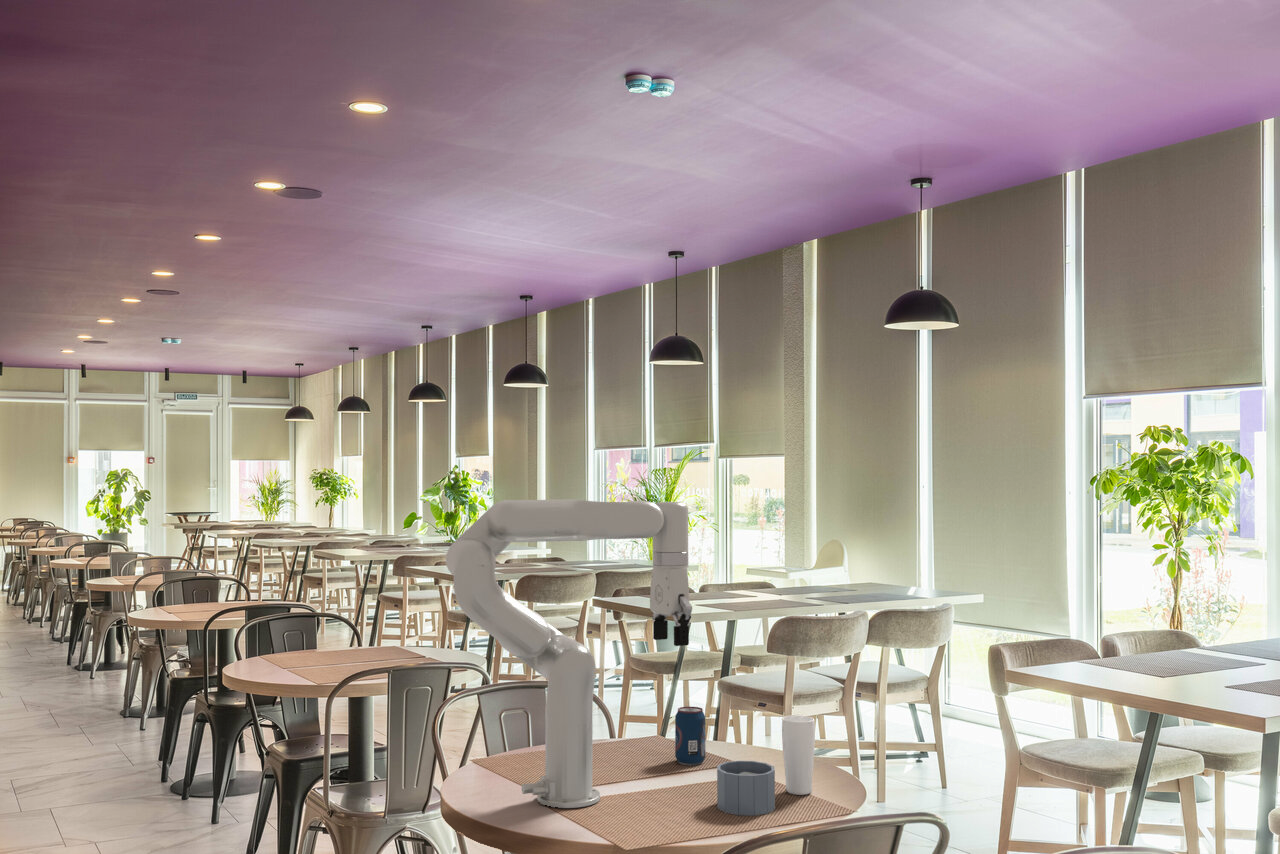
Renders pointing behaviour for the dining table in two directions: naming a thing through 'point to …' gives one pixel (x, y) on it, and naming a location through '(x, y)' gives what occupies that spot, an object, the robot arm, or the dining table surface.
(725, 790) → the cup
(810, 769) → the drinking glass
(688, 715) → the soda can
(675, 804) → the dining table surface
